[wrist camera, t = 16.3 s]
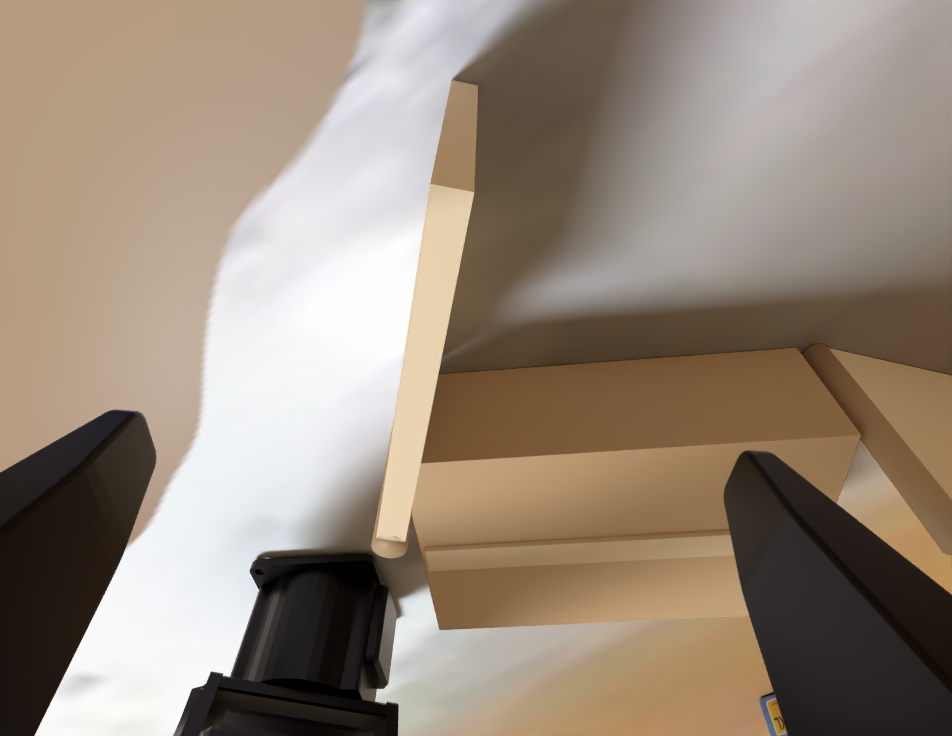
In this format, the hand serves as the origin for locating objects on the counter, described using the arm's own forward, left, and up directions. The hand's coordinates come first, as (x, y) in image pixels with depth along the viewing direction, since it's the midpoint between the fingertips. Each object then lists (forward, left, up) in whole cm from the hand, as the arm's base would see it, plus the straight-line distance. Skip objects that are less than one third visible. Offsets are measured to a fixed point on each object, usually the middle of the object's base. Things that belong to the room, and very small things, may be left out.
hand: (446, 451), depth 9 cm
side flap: (-1, -3, -13) cm, 13 cm away
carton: (+4, -13, -13) cm, 19 cm away
